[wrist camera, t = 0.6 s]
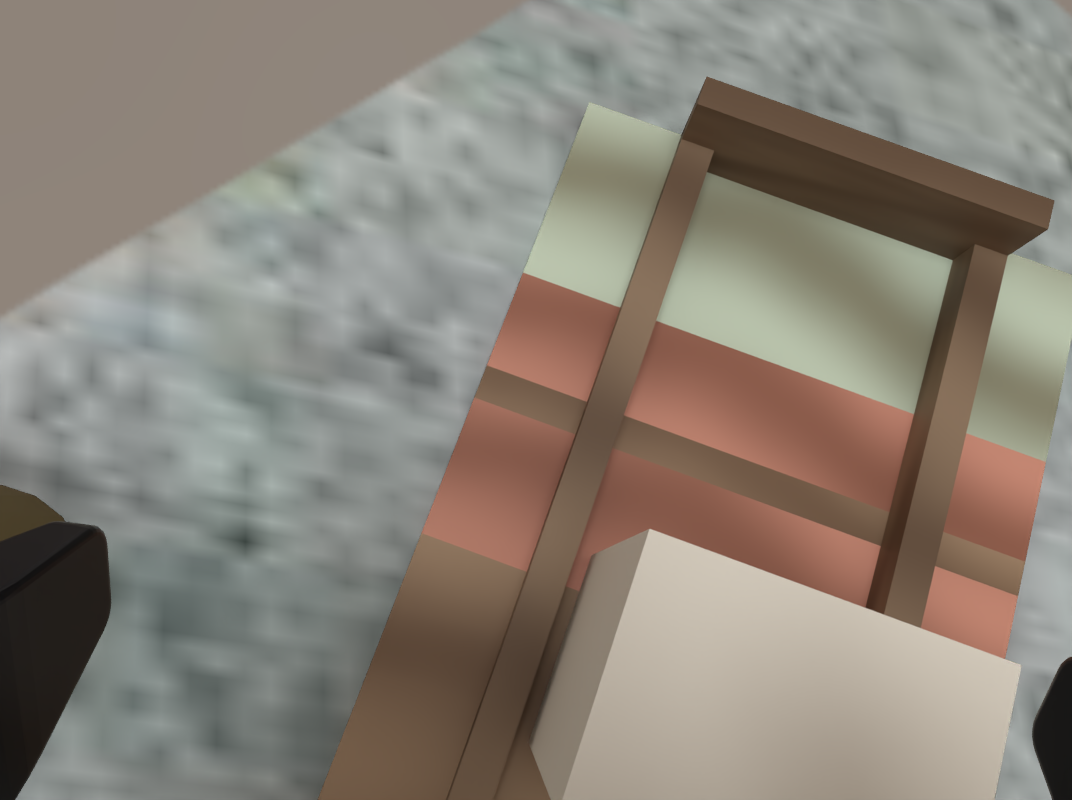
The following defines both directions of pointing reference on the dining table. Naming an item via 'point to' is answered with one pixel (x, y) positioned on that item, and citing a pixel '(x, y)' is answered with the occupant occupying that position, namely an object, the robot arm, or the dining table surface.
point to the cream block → (758, 691)
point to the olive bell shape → (22, 512)
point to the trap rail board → (725, 415)
